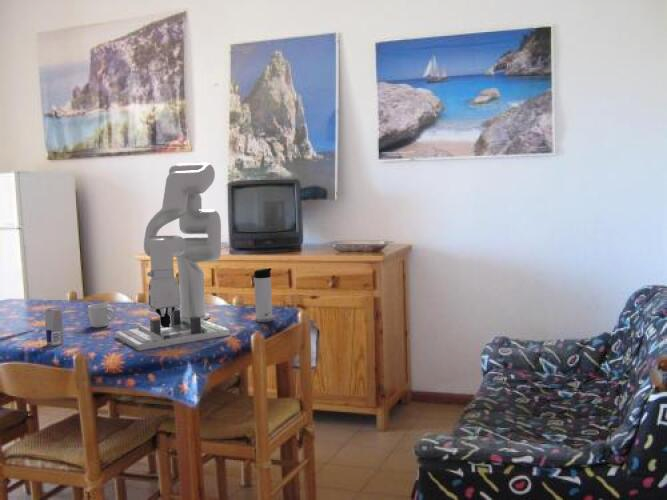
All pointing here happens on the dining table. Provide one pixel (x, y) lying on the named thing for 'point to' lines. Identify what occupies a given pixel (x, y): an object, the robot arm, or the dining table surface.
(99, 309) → the cup
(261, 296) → the travel mug
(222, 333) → the panel
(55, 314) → the energy drink
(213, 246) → the robot arm
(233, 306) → the dining table surface
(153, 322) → the block
